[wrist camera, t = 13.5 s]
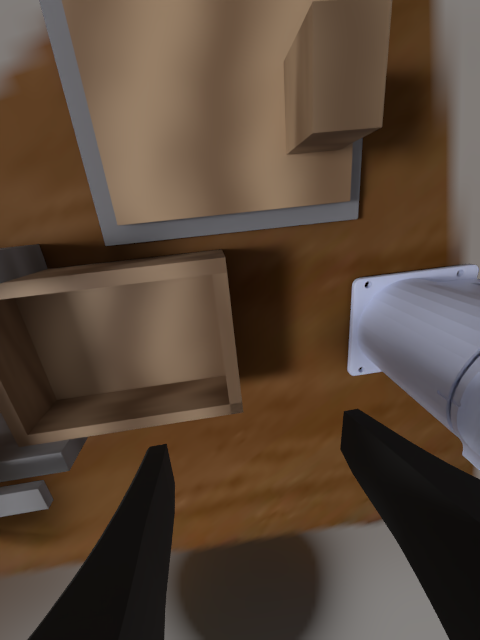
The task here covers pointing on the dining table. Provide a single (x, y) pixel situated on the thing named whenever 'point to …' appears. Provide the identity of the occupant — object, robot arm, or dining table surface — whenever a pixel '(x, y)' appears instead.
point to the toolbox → (106, 356)
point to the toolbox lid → (229, 100)
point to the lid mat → (178, 227)
